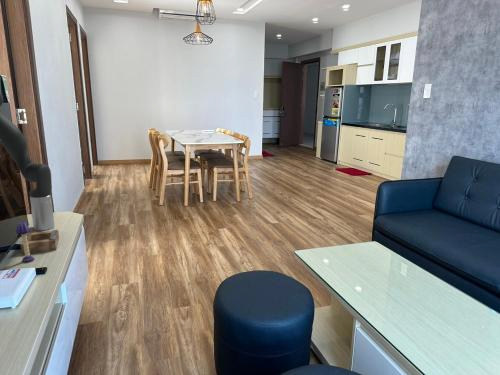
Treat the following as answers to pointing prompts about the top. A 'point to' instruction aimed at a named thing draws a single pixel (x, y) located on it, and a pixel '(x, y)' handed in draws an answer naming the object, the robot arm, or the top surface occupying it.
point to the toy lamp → (24, 240)
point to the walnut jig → (41, 241)
